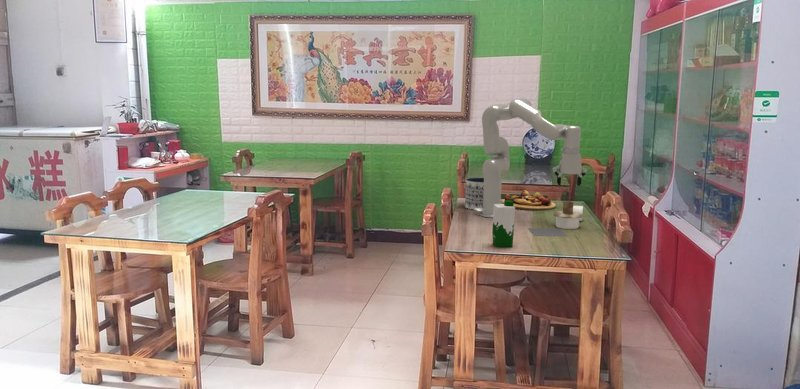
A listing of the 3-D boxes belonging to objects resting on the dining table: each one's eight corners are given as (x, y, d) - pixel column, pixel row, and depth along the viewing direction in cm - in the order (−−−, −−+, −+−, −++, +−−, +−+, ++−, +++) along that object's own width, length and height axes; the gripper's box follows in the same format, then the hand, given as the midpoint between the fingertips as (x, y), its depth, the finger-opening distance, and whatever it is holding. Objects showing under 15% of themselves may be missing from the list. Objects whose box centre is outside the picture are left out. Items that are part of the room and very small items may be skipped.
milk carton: (515, 247, 275) (517, 202, 272) (494, 247, 275) (496, 202, 271) (509, 242, 284) (511, 199, 281) (490, 242, 283) (491, 199, 280)
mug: (582, 222, 329) (582, 207, 327) (562, 221, 332) (563, 206, 330) (582, 218, 340) (583, 203, 339) (563, 216, 343) (564, 202, 342)
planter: (497, 211, 356) (499, 182, 353) (465, 210, 356) (466, 181, 354) (494, 205, 373) (495, 177, 371) (464, 204, 374) (464, 177, 372)
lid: (557, 218, 309) (557, 204, 308) (550, 212, 323) (551, 199, 322) (585, 218, 309) (586, 204, 308) (577, 212, 323) (578, 199, 322)
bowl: (558, 229, 312) (559, 217, 311) (553, 224, 322) (554, 213, 321) (581, 229, 312) (581, 217, 311) (574, 224, 323) (575, 213, 322)
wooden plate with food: (504, 210, 360) (504, 196, 358) (498, 200, 391) (499, 187, 389) (560, 213, 358) (561, 198, 356) (550, 202, 389) (551, 189, 388)
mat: (534, 236, 296) (534, 235, 296) (527, 229, 312) (527, 228, 312) (568, 236, 296) (568, 236, 296) (559, 229, 312) (559, 228, 312)
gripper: (555, 151, 307) (553, 186, 310) (591, 152, 307) (588, 186, 310) (552, 149, 314) (549, 183, 317) (586, 150, 314) (583, 184, 318)
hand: (568, 185), depth 314 cm, fingers open, 9 cm apart
